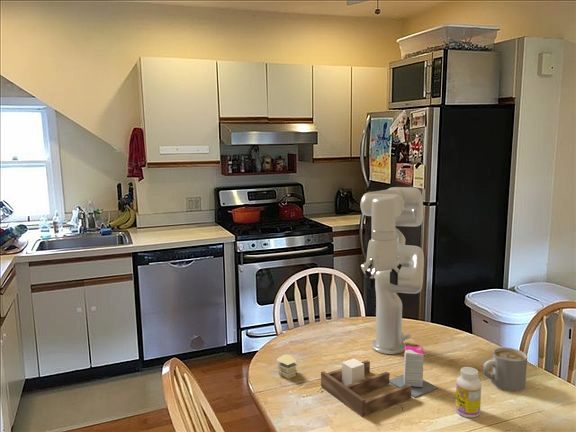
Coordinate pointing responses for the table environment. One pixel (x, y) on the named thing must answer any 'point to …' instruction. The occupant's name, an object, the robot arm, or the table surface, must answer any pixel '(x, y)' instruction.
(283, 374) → the beige ridged block
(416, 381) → the supplement box
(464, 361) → the table surface
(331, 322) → the table surface
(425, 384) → the mat
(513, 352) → the coffee mug
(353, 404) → the lane rack
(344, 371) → the off-white block
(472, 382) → the supplement bottle
